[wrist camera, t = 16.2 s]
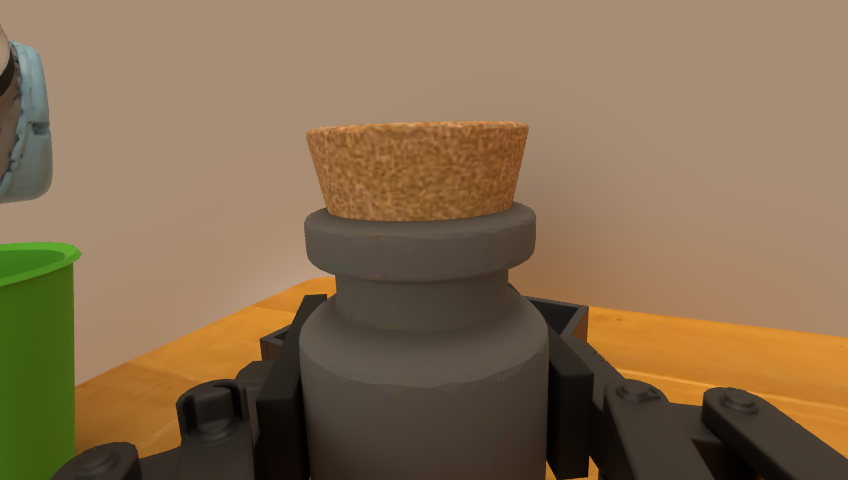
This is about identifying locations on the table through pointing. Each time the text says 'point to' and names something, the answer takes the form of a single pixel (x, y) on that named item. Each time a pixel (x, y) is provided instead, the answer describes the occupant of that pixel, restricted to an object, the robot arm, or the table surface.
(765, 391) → the table surface
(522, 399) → the bottle
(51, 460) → the cup
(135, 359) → the table surface
